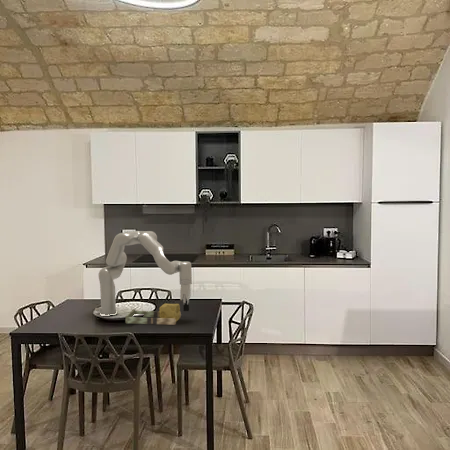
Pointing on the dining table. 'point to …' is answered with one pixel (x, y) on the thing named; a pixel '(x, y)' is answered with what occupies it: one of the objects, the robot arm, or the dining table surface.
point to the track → (149, 320)
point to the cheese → (170, 311)
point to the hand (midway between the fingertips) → (186, 310)
